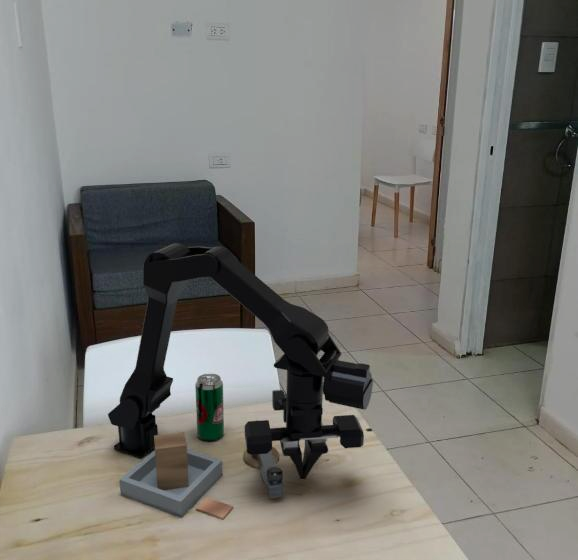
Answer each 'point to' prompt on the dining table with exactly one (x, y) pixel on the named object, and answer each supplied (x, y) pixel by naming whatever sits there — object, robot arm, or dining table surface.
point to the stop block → (171, 461)
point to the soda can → (209, 407)
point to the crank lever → (270, 474)
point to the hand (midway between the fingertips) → (302, 478)
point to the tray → (174, 501)
